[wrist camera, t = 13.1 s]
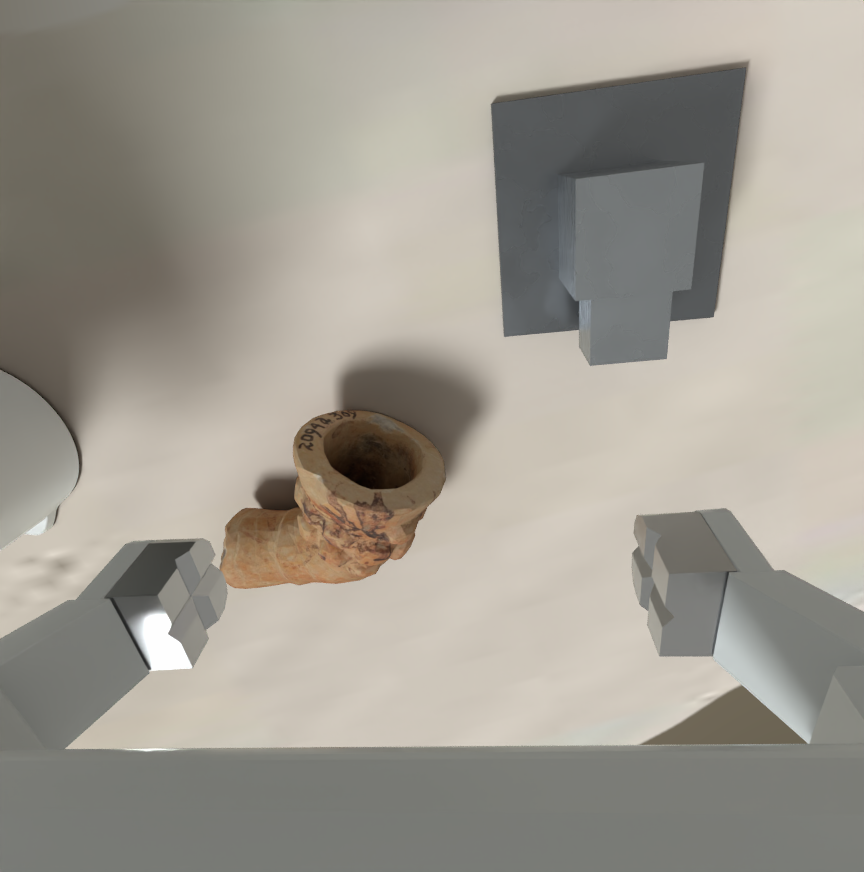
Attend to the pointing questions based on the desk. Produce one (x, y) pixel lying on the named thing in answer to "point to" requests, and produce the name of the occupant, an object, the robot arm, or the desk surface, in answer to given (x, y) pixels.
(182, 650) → the robot arm
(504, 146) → the duct plate
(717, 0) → the desk surface
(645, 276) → the stepped gray block
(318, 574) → the clay pipe
